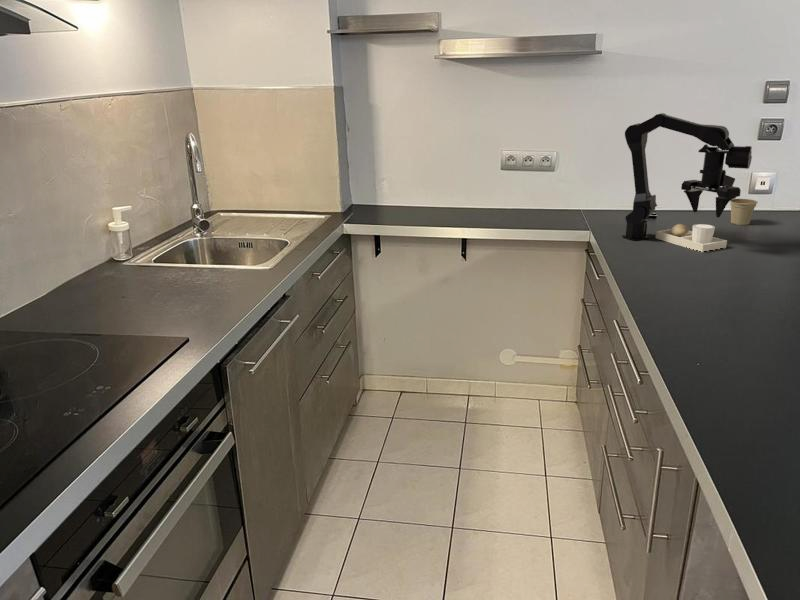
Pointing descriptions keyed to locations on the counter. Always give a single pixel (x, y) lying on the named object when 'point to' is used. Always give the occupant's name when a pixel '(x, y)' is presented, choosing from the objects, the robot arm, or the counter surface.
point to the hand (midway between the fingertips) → (706, 214)
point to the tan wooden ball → (679, 230)
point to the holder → (690, 241)
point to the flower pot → (742, 210)
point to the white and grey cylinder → (702, 233)
